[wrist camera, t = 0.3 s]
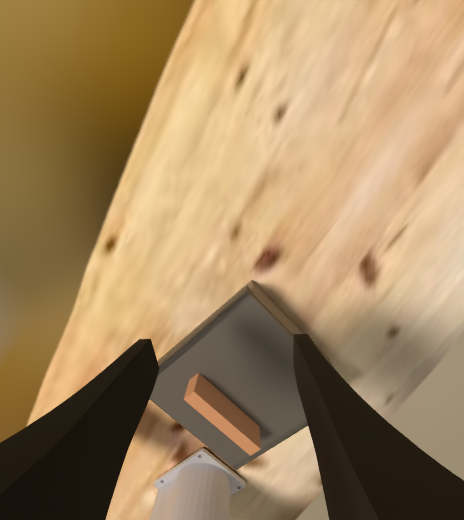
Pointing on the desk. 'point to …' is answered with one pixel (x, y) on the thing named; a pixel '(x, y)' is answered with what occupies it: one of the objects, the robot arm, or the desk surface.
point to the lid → (233, 381)
